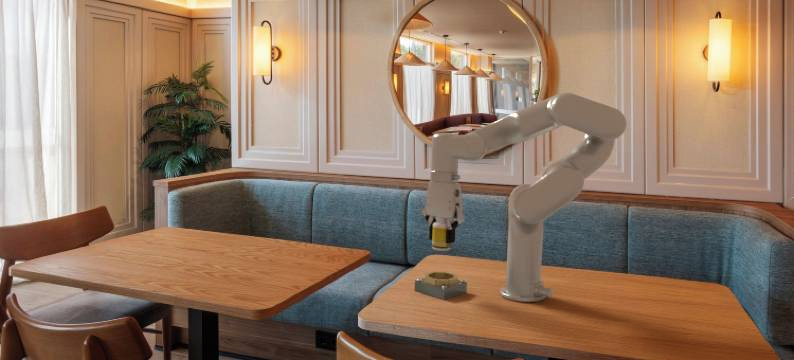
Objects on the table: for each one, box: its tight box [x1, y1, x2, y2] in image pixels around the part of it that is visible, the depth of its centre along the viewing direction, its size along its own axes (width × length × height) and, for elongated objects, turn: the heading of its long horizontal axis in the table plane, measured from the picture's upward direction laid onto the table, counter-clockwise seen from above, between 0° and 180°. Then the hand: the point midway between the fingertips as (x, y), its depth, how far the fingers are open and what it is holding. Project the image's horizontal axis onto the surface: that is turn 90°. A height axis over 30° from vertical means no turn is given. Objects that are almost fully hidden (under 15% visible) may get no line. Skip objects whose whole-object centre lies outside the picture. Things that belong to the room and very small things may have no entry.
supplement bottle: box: [431, 217, 452, 252], centre depth 168 cm, size 5×5×10 cm
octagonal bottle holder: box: [414, 271, 468, 301], centre depth 169 cm, size 11×10×5 cm
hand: (441, 240), depth 168 cm, fingers closed on supplement bottle, 5 cm apart
